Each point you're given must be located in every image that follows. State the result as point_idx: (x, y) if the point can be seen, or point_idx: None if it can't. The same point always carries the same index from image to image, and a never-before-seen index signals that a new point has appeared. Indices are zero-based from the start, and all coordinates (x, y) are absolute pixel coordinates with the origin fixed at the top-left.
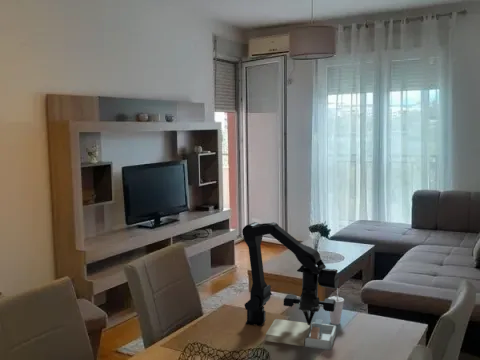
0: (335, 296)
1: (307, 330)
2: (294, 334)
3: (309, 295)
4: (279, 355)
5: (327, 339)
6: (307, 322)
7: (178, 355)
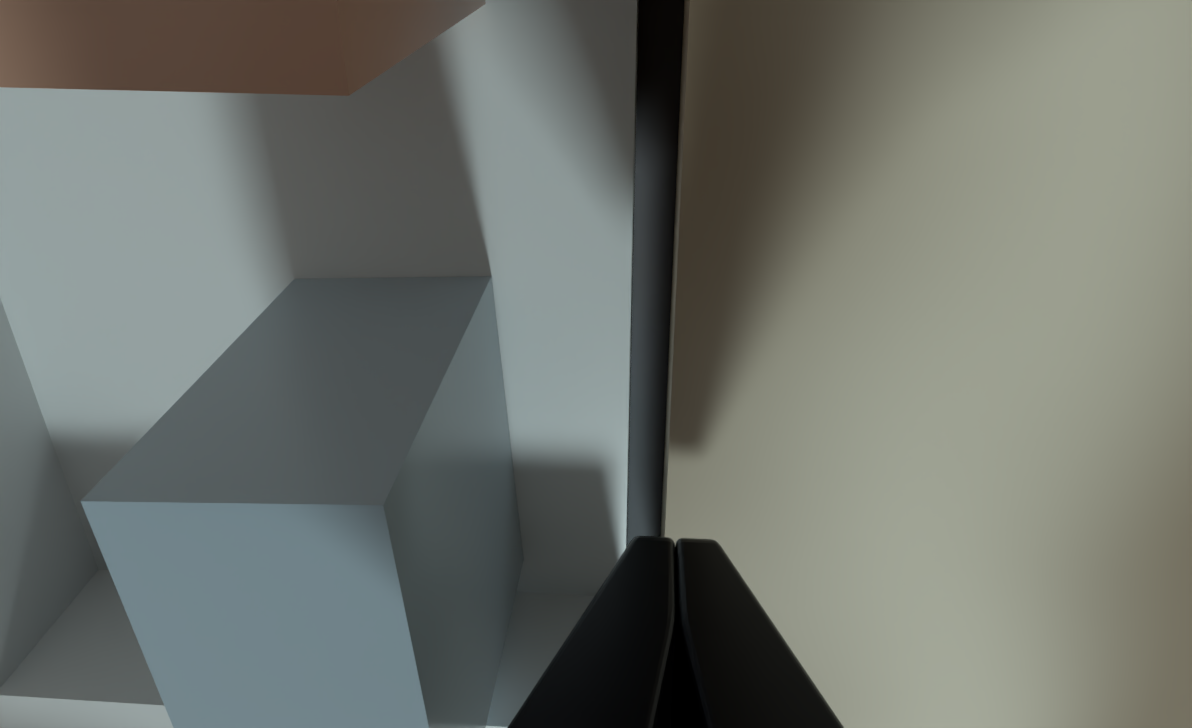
0: None
1: (694, 273)
2: None
3: None
4: None
5: (39, 101)
6: (735, 595)
7: None
